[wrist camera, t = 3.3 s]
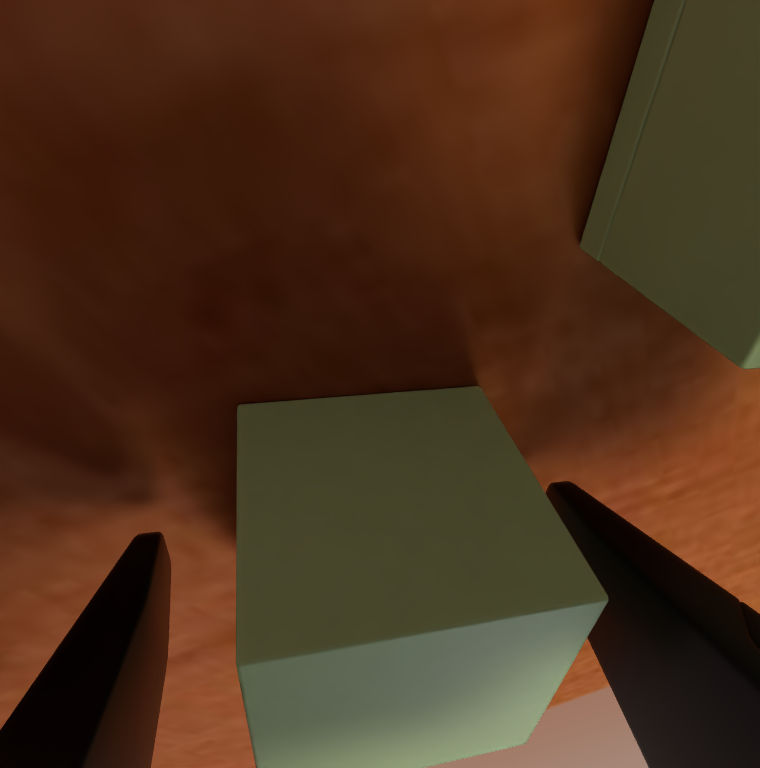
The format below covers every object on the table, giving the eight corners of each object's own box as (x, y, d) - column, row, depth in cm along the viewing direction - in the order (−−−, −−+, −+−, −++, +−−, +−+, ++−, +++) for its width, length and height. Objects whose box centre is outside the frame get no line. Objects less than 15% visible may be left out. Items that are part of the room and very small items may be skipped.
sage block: (480, 384, 10) (611, 598, 6) (446, 534, 13) (526, 745, 9) (236, 403, 9) (235, 666, 6) (255, 561, 12) (262, 806, 8)
